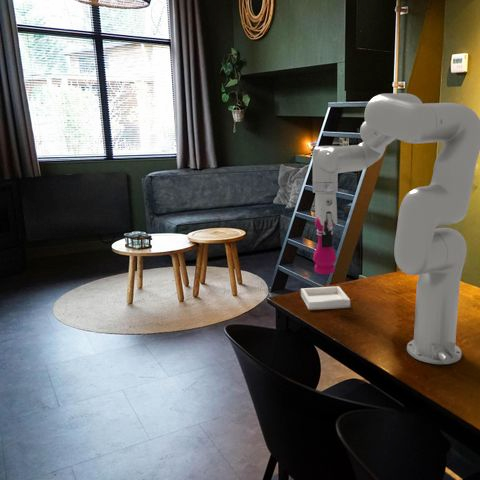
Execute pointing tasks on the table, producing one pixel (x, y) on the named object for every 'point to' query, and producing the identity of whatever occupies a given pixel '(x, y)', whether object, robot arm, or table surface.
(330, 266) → the pepper mill
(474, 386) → the table surface
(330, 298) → the ceramic dish
